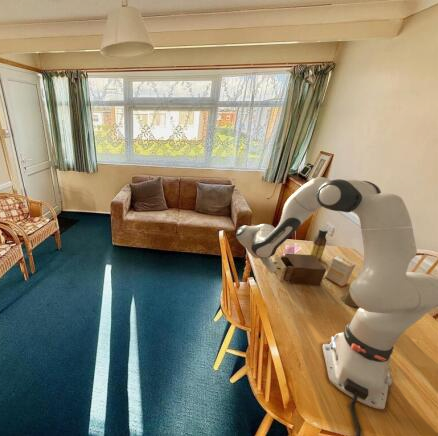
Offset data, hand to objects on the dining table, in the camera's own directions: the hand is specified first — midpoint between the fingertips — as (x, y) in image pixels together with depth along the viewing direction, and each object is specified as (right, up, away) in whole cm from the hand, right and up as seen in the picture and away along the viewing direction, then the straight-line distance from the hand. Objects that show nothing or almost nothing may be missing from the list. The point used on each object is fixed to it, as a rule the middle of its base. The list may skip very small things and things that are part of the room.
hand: (273, 266), depth 125 cm
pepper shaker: (+28, -14, -16) cm, 35 cm away
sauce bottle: (+34, +2, +17) cm, 38 cm away
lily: (+19, +2, +17) cm, 26 cm away
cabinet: (+15, -6, +1) cm, 16 cm away
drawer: (+7, -5, +1) cm, 9 cm away
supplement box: (+32, -8, -2) cm, 33 cm away
